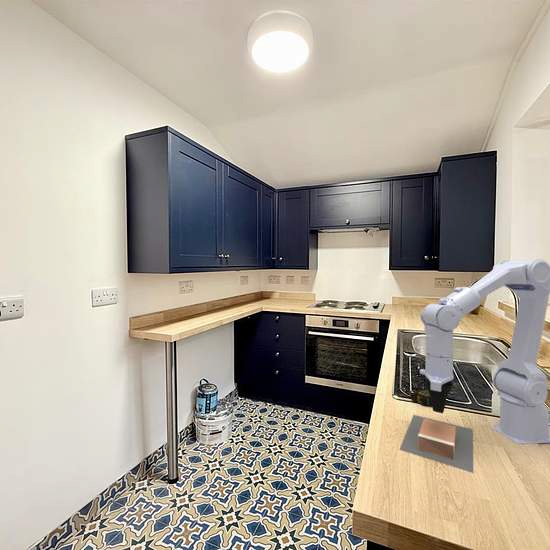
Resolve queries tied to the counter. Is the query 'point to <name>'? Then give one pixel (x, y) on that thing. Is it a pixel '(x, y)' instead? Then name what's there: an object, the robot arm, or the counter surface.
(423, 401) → the tape measure
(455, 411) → the counter surface
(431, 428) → the salmon pink box
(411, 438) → the charcoal mat
